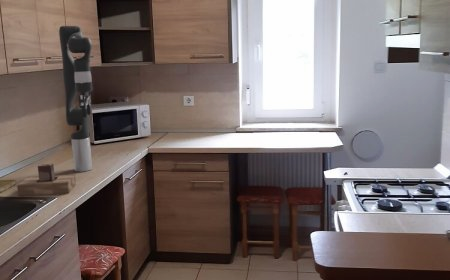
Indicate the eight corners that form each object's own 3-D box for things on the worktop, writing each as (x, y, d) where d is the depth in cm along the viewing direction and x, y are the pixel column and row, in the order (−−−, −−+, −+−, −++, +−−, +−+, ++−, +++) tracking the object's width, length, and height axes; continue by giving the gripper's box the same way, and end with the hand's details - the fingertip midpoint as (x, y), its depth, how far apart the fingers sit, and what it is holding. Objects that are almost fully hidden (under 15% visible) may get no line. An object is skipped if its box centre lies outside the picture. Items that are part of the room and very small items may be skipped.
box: (56, 188, 223) (53, 163, 221) (53, 191, 219) (50, 165, 217) (43, 189, 223) (40, 163, 221) (40, 191, 219) (37, 166, 216)
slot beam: (28, 187, 227) (27, 177, 226) (76, 184, 228) (75, 174, 227) (18, 196, 213) (17, 185, 212) (68, 193, 214) (67, 182, 214)
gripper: (78, 80, 230) (81, 114, 233) (71, 82, 216) (75, 118, 219) (94, 80, 231) (97, 113, 234) (88, 81, 217) (91, 117, 220)
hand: (86, 115), depth 227 cm, fingers open, 8 cm apart
